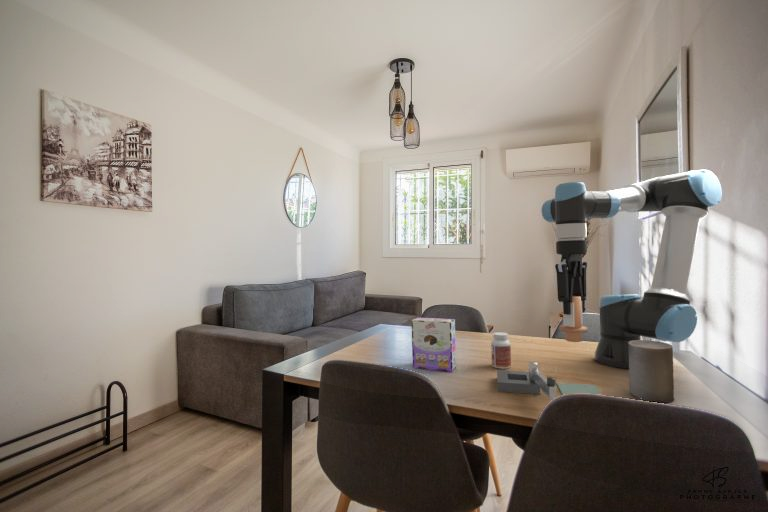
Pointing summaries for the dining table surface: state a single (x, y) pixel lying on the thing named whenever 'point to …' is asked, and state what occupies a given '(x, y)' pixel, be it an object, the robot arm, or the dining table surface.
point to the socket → (516, 382)
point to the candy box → (434, 344)
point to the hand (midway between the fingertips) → (573, 324)
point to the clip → (542, 380)
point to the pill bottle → (501, 351)
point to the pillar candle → (651, 370)
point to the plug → (575, 332)
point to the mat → (577, 388)
